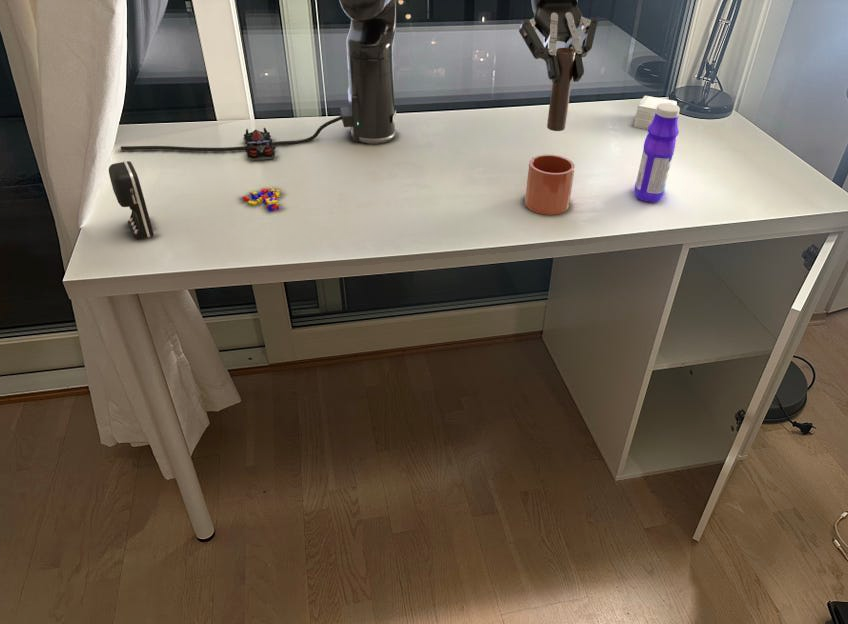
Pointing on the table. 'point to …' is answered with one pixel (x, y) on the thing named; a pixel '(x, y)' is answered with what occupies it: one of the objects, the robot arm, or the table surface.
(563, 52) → the dowel
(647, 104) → the small box
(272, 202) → the building blocks
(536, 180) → the holder
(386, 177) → the table surface
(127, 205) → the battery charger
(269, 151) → the toy car
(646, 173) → the bottle
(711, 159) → the table surface
